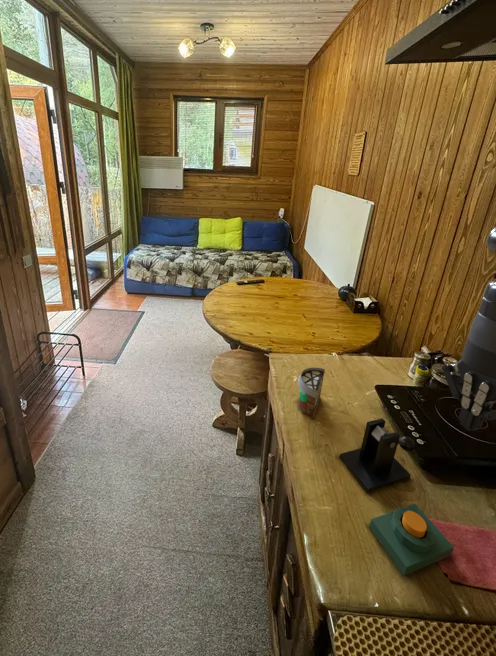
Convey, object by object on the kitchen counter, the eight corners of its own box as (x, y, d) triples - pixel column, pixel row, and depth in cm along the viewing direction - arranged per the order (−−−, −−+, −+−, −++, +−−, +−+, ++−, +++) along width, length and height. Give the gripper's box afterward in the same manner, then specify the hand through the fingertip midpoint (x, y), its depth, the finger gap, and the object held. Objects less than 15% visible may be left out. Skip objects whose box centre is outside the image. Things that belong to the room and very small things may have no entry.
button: (411, 514, 59) (414, 508, 59) (429, 535, 56) (431, 528, 55) (397, 520, 58) (399, 513, 58) (414, 541, 55) (416, 534, 54)
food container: (301, 388, 98) (304, 361, 95) (320, 395, 95) (325, 368, 92) (289, 412, 88) (293, 383, 85) (311, 421, 85) (316, 392, 82)
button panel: (412, 510, 63) (417, 496, 62) (451, 555, 56) (457, 540, 55) (368, 526, 60) (372, 512, 59) (404, 575, 53) (409, 560, 52)
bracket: (378, 446, 78) (388, 408, 74) (410, 478, 70) (422, 438, 66) (339, 457, 75) (346, 418, 71) (366, 493, 67) (377, 451, 63)
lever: (400, 444, 75) (408, 434, 75) (412, 455, 72) (420, 445, 72) (368, 433, 70) (376, 422, 70) (379, 444, 67) (387, 433, 67)
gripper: (567, 362, 45) (527, 453, 50) (471, 321, 57) (447, 398, 62) (533, 370, 43) (494, 464, 48) (440, 326, 55) (418, 405, 60)
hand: (467, 426), depth 55 cm, fingers closed
